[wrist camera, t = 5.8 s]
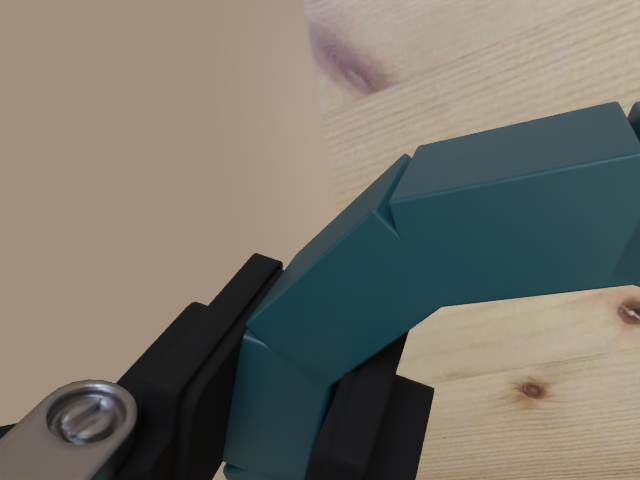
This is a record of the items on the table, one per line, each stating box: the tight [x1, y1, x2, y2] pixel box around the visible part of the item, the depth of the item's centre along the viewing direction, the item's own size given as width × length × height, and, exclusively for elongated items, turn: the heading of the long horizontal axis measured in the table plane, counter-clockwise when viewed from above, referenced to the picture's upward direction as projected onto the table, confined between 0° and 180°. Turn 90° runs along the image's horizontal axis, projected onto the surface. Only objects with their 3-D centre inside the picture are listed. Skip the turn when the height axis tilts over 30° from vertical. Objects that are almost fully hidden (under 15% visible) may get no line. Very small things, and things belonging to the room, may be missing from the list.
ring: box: [222, 102, 640, 480], centre depth 10 cm, size 12×12×2 cm
